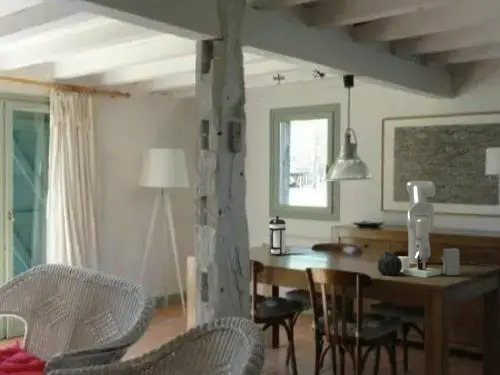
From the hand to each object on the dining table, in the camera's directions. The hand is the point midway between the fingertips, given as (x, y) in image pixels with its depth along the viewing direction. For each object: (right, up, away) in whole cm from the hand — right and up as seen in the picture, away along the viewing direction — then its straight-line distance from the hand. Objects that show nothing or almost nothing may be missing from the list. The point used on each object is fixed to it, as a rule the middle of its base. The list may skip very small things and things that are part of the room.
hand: (422, 268), depth 391 cm
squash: (-20, -4, +1) cm, 20 cm away
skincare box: (+18, -4, 0) cm, 18 cm away
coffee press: (-85, -2, +96) cm, 128 cm away
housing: (-10, -3, +13) cm, 16 cm away
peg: (0, -3, 0) cm, 3 cm away
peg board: (0, -4, 0) cm, 4 cm away
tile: (+2, -3, +17) cm, 17 cm away
